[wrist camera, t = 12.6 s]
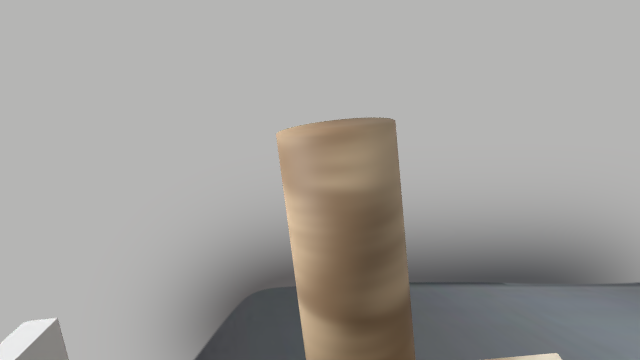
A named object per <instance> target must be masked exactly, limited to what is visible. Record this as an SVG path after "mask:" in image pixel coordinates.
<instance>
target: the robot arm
mask: <svg viewBox="0 0 640 360" xmlns="http://www.w3.org/2000/svg"><path fill="white" fill-rule="evenodd" d="M0 360H69V359H68V355H67V352H66V348H65V344H64V340H63V336H62V333H61V329H60V325H59V321H58V318H52V319H44V320H34V321H26V322H24V323H23V324H21V325H20V326H19V327H18V328H17V329H16V330H15V331H14V332H12V333H11V334H10V335H9V336H8V337H7V338H6V339H5V340H3V341H2V342H1V343H0Z"/></svg>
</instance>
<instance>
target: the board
mask: <svg viewBox="0 0 640 360" xmlns="http://www.w3.org/2000/svg"><path fill="white" fill-rule="evenodd" d="M486 360H562V359H561V358H560V357H559V355H558V354H557V353H552V354H541V355H530V356H519V357H508V358H497V359H486Z"/></svg>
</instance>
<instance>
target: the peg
mask: <svg viewBox="0 0 640 360" xmlns="http://www.w3.org/2000/svg"><path fill="white" fill-rule="evenodd" d="M276 137H277V144H278V152H279V159H280V166H281V174H282V182H283V189H284V196H285V204H286V211H287V219H288V227H289V234H290V242H291V249H292V256H293V264H294V272H295V279H296V287H297V294H298V302H299V309H300V317H301V324H302V332H303V339H304V347H305V354H306V360H415V349H414V337H413V325H412V313H411V301H410V290H409V278H408V266H407V254H406V242H405V232H404V231H405V230H404V219H403V207H402V195H401V183H400V171H399V160H398V148H397V136H396V124H395V120H393V119H389V118H353V119H341V120H332V121H324V122H317V123H311V124H306V125H300V126H296V127H291V128H288V129H285V130H282V131H280V132H278V133H277V134H276Z"/></svg>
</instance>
